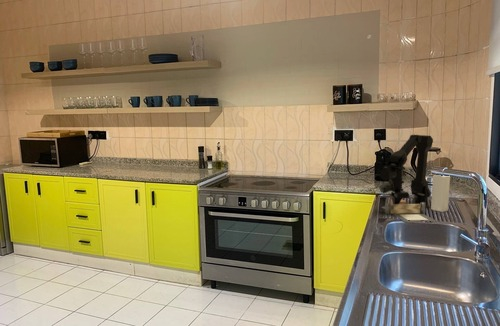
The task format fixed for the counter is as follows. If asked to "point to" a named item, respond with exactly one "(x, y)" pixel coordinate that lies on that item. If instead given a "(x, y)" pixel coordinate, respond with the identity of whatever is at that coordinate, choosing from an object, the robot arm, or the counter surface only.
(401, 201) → the block
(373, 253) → the counter surface
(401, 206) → the tan wooden bar
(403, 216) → the grey panel
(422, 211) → the olive long rounded piece
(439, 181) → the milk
